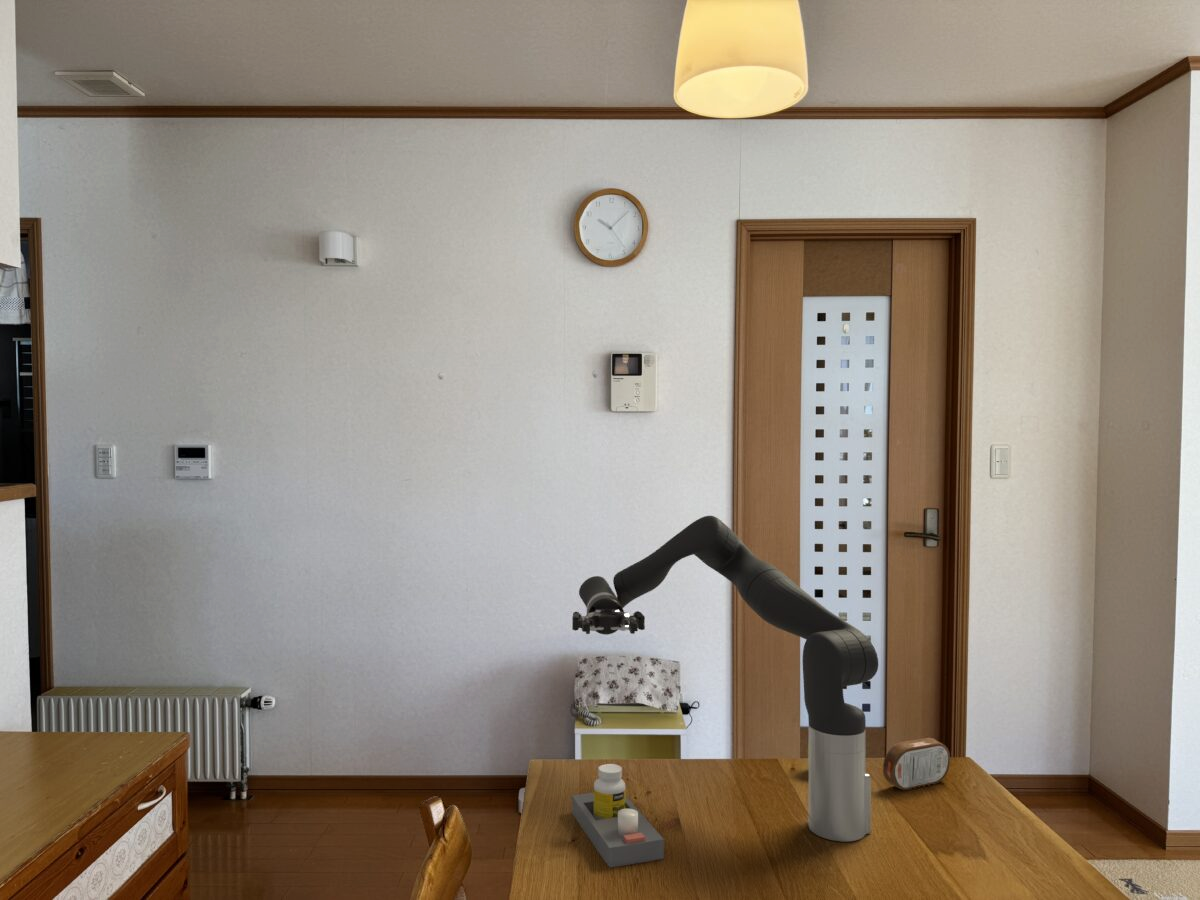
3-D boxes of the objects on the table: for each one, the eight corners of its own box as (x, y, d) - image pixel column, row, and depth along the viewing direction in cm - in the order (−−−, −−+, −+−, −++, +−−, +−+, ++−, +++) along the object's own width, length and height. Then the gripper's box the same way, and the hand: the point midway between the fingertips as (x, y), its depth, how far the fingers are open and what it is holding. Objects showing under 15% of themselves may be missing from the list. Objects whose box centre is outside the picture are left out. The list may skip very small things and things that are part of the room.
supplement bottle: (614, 836, 131) (615, 776, 131) (587, 828, 134) (587, 769, 134) (631, 824, 136) (631, 766, 136) (604, 816, 138) (604, 759, 139)
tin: (940, 776, 157) (940, 733, 157) (953, 782, 154) (953, 738, 154) (881, 788, 151) (881, 744, 151) (893, 795, 148) (893, 749, 148)
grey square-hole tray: (619, 805, 143) (619, 772, 143) (663, 858, 124) (664, 819, 124) (571, 812, 140) (571, 778, 140) (609, 867, 121) (609, 827, 121)
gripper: (571, 594, 167) (573, 608, 151) (638, 594, 168) (648, 608, 152) (570, 630, 167) (573, 648, 151) (638, 630, 168) (647, 647, 151)
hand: (610, 628), depth 151 cm, fingers open, 8 cm apart
